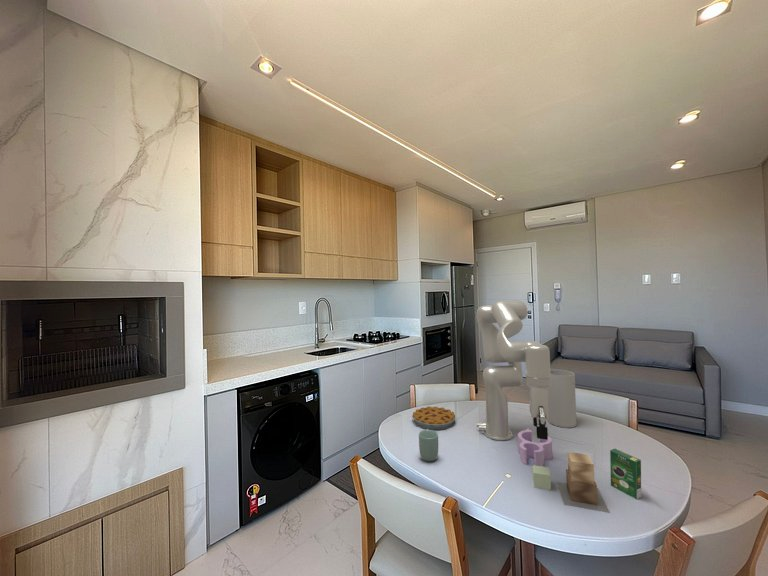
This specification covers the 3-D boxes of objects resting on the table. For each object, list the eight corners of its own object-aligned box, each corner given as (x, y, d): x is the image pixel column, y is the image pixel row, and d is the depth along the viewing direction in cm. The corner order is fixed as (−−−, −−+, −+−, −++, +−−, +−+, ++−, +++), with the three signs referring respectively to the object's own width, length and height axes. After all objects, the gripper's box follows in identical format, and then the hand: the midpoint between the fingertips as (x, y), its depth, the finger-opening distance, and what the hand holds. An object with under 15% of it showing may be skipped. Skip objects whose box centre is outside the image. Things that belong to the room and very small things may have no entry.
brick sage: (534, 491, 104) (533, 472, 104) (532, 482, 109) (532, 465, 109) (551, 493, 103) (550, 475, 103) (548, 485, 107) (548, 467, 107)
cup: (440, 455, 128) (439, 430, 129) (437, 465, 121) (436, 439, 121) (421, 452, 131) (420, 428, 131) (417, 462, 124) (416, 436, 124)
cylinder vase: (576, 420, 158) (574, 371, 158) (576, 430, 147) (574, 377, 147) (548, 416, 164) (547, 368, 165) (546, 425, 154) (544, 374, 154)
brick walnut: (571, 500, 97) (570, 481, 97) (566, 487, 104) (565, 469, 104) (597, 505, 95) (597, 485, 95) (591, 491, 101) (590, 472, 101)
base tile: (563, 508, 96) (563, 504, 96) (556, 485, 107) (556, 481, 107) (610, 517, 91) (610, 512, 91) (598, 491, 103) (597, 488, 103)
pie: (429, 410, 177) (428, 401, 177) (463, 421, 162) (463, 411, 162) (404, 423, 161) (403, 413, 161) (439, 435, 146) (439, 425, 146)
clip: (549, 474, 114) (548, 455, 114) (512, 465, 120) (512, 446, 120) (553, 450, 131) (553, 433, 131) (521, 443, 137) (520, 427, 137)
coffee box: (643, 501, 98) (641, 459, 98) (637, 503, 97) (636, 461, 97) (615, 486, 105) (614, 447, 105) (610, 489, 104) (608, 449, 104)
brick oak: (572, 480, 97) (571, 461, 98) (567, 470, 103) (567, 451, 103) (594, 484, 95) (593, 464, 95) (589, 473, 101) (588, 454, 101)
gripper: (524, 374, 116) (526, 421, 115) (528, 387, 99) (530, 442, 99) (546, 375, 113) (548, 423, 113) (555, 389, 97) (557, 445, 96)
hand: (540, 432), depth 106 cm, fingers open, 9 cm apart
